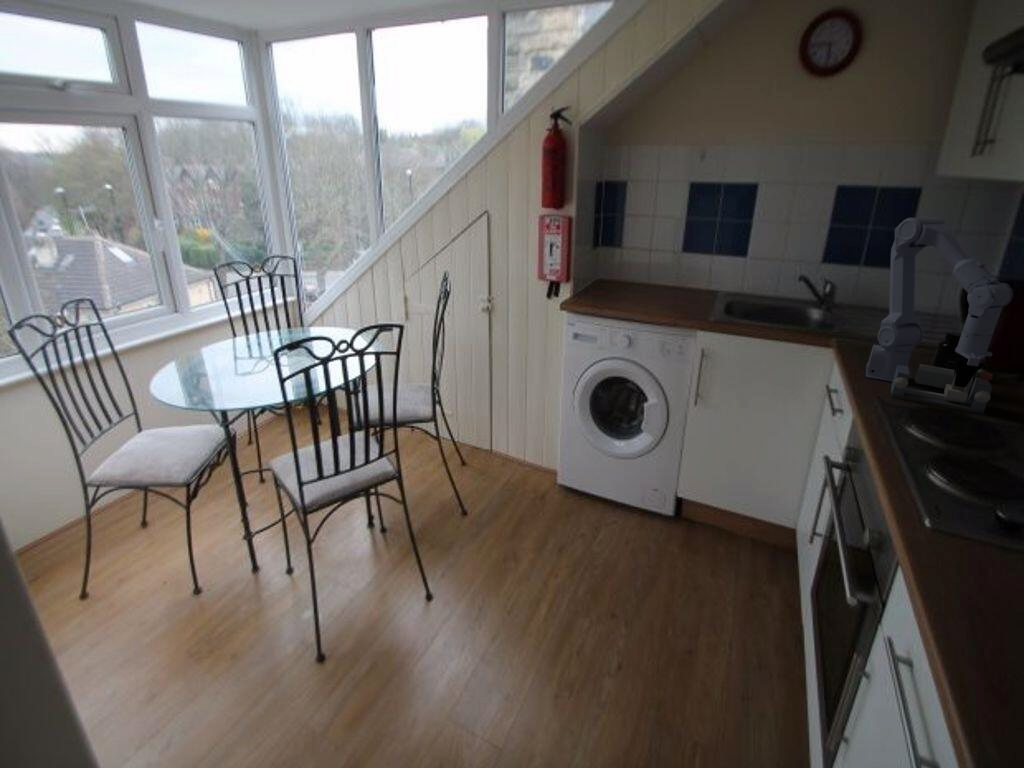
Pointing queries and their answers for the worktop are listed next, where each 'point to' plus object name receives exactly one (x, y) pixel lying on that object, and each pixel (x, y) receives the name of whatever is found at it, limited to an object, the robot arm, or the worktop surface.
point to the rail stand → (972, 404)
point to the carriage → (955, 392)
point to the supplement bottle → (946, 351)
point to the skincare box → (936, 376)
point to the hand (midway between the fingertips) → (959, 384)
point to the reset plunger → (986, 376)
